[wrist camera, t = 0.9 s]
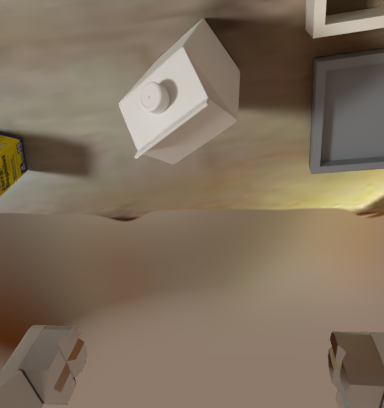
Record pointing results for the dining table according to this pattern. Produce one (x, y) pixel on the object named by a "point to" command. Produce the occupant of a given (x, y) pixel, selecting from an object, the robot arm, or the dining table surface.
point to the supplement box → (11, 160)
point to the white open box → (340, 20)
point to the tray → (347, 112)
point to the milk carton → (183, 97)
